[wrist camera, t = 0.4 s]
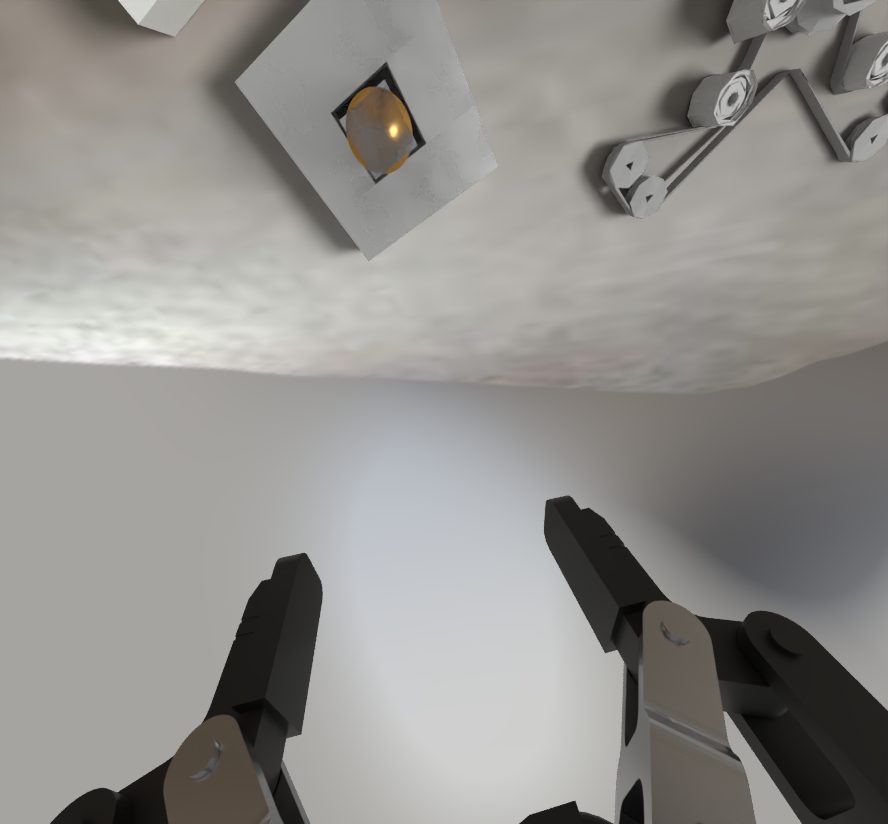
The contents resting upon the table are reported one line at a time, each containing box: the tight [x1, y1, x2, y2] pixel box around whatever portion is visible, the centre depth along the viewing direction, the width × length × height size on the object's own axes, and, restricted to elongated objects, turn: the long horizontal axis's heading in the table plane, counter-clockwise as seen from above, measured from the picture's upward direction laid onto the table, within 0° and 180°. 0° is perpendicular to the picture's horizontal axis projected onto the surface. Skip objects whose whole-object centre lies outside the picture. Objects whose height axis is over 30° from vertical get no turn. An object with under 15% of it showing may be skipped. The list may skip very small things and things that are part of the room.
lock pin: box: [339, 79, 417, 179], centre depth 20 cm, size 4×4×8 cm
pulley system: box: [602, 0, 888, 219], centre depth 23 cm, size 27×5×15 cm
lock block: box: [235, 0, 498, 261], centre depth 22 cm, size 12×12×3 cm
